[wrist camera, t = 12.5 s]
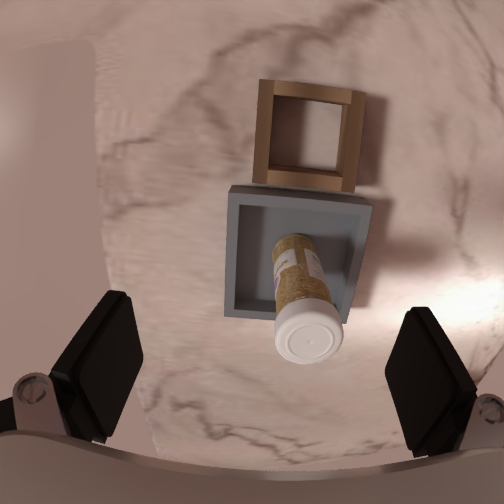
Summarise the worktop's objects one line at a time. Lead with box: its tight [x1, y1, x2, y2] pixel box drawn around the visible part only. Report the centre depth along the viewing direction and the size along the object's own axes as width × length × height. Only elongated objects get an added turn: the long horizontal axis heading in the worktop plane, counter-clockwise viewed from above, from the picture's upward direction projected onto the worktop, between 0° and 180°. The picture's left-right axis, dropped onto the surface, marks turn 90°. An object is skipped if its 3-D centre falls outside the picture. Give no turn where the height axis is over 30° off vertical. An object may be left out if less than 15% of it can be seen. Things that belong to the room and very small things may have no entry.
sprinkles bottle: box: [272, 234, 344, 364], centre depth 26 cm, size 5×5×14 cm
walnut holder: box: [252, 79, 366, 193], centre depth 26 cm, size 9×9×3 cm
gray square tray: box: [224, 185, 373, 324], centre depth 31 cm, size 13×13×3 cm
